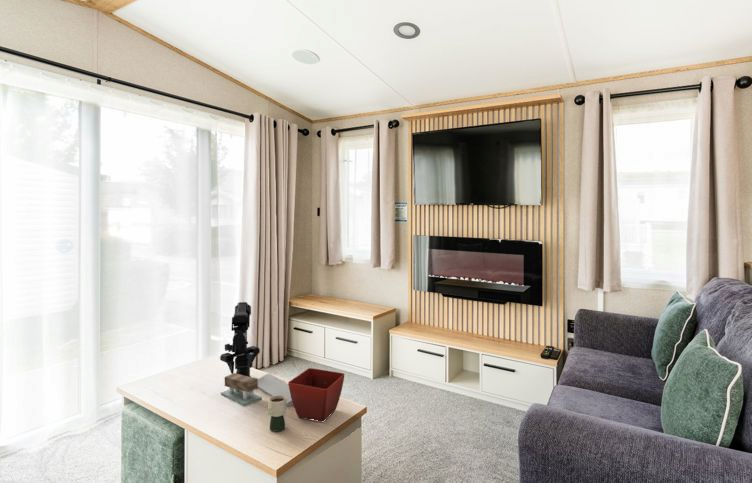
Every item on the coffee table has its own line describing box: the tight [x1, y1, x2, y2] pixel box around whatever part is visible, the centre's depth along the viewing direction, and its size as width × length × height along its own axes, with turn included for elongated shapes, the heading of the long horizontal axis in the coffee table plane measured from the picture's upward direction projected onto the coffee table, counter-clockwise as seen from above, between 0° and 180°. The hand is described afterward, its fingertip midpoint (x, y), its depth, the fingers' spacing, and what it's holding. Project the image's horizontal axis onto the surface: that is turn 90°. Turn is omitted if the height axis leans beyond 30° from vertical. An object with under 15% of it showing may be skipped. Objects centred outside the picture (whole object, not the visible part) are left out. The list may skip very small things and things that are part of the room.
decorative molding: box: [257, 372, 294, 408], centre depth 204 cm, size 34×5×10 cm
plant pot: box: [287, 367, 345, 422], centre depth 181 cm, size 19×19×17 cm
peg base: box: [220, 387, 263, 407], centre depth 198 cm, size 10×20×5 cm, turn 51°
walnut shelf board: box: [224, 372, 259, 392], centre depth 198 cm, size 16×6×4 cm, turn 63°
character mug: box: [267, 395, 287, 432], centre depth 167 cm, size 11×7×13 cm, turn 152°
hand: (240, 370), depth 198 cm, fingers open, 9 cm apart
